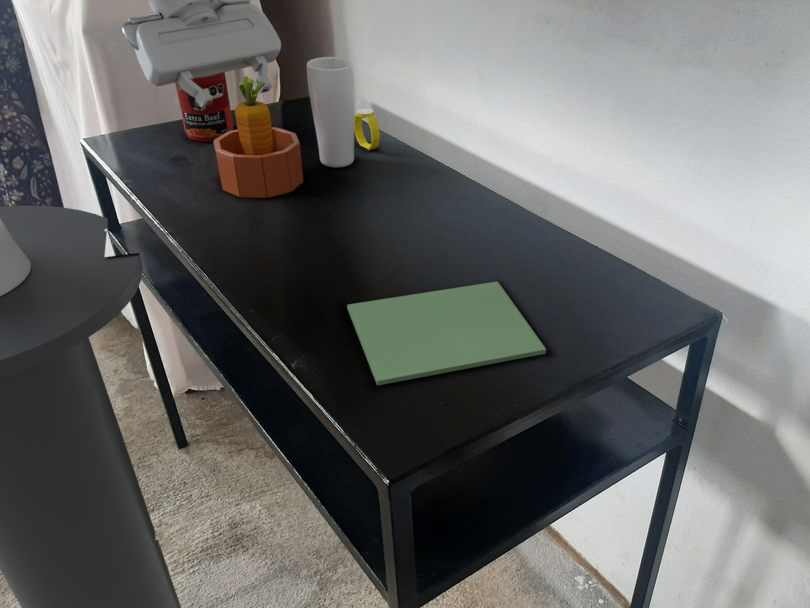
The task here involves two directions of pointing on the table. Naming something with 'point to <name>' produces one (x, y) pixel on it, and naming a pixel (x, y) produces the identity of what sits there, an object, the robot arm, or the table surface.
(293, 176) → the pot
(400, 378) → the mat
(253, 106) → the carrot
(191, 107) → the canned food
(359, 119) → the watch
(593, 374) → the table surface
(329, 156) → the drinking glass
